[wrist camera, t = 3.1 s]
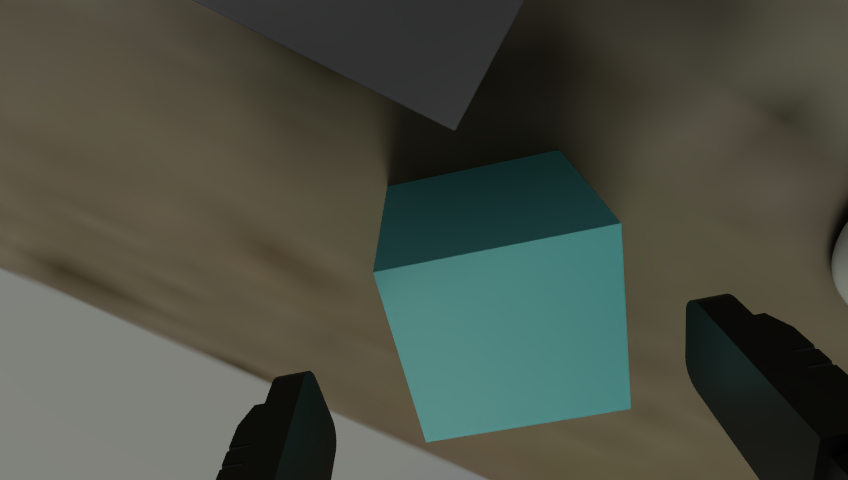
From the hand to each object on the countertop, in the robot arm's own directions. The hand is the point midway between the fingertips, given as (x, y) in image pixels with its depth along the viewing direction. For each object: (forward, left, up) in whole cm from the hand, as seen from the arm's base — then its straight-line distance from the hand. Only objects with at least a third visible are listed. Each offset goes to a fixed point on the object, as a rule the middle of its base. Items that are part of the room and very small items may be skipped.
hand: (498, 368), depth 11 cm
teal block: (0, 0, -6) cm, 6 cm away
